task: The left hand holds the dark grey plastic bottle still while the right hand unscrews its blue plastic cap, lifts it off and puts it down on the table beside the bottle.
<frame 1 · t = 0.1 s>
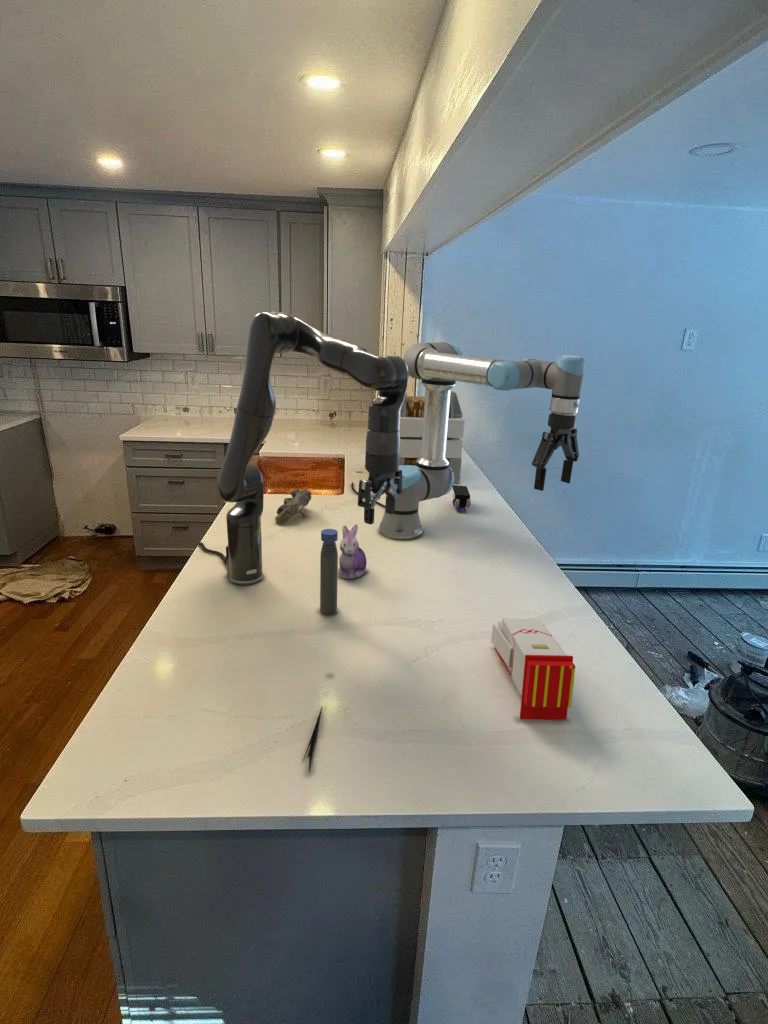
left hand: (379, 518, 130), 29 cm above the counter, tool pointing down, fingers open, 8 cm apart
right hand: (552, 485, 166), 28 cm above the counter, tool pointing down, fingers open, 13 cm apart
bottle: (328, 610, 148), on the counter
fossil: (294, 516, 212), on the counter
feather: (319, 719, 109), on the counter
toy: (524, 678, 124), on the counter
figurine: (352, 573, 169), on the counter
figurine character: (460, 507, 229), on the counter
white wooden crate: (419, 473, 275), on the counter
cap: (329, 532, 140), point 22 cm above the counter, screwed on, not yet turned
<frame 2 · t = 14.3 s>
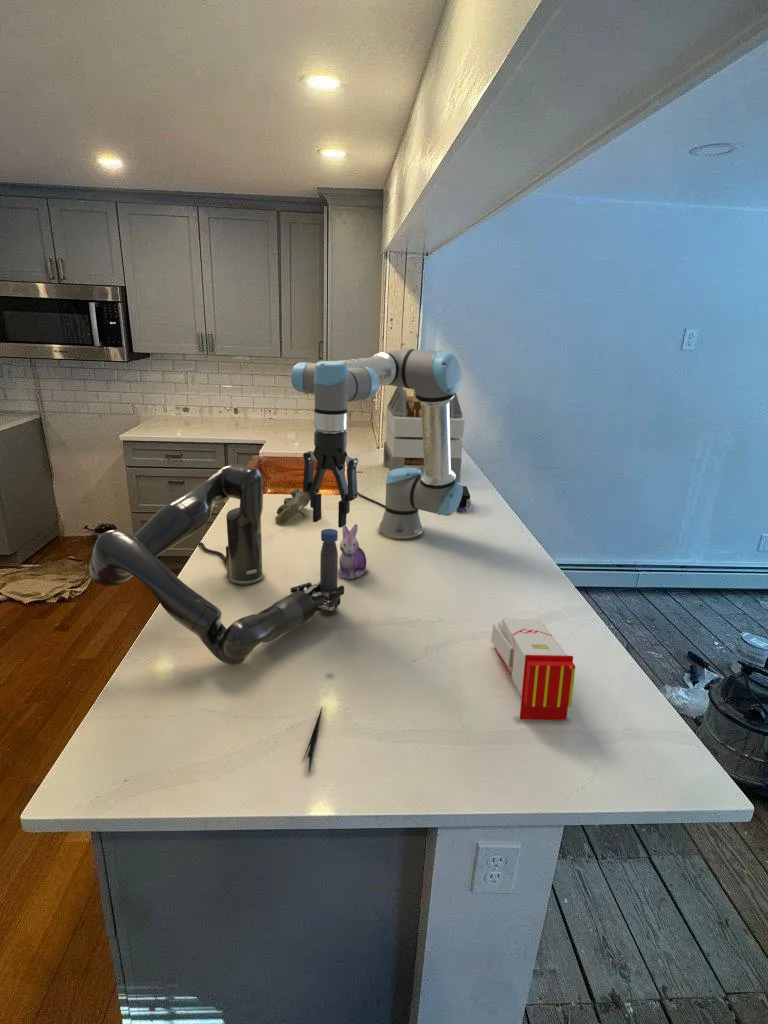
left hand: (335, 586, 148), 6 cm above the counter, tool horizontal, fingers closed on bottle, 4 cm apart
right hand: (329, 522, 139), 25 cm above the counter, tool pointing down, fingers open, 6 cm apart
bottle: (328, 610, 148), on the counter, touching left hand
everything else where it was.
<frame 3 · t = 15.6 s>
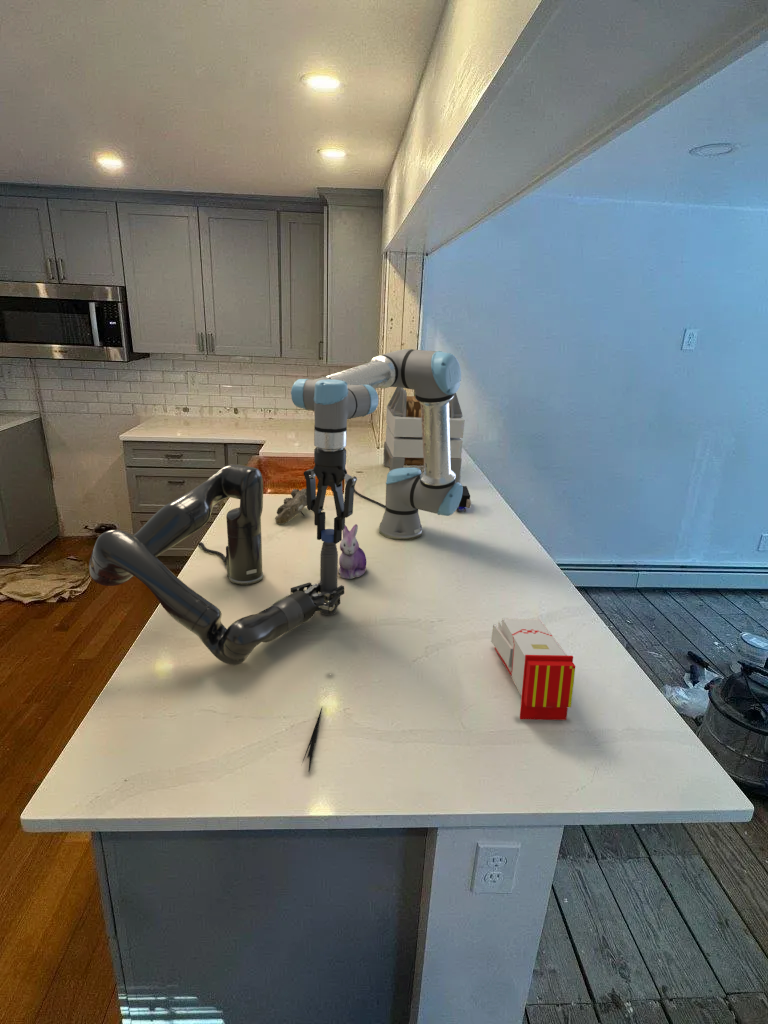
left hand: (335, 586, 148), 6 cm above the counter, tool horizontal, fingers closed on bottle, 4 cm apart
right hand: (329, 539, 141), 20 cm above the counter, tool pointing down, fingers closed on cap, 4 cm apart
bottle: (328, 610, 148), on the counter, touching left hand
cap: (329, 532, 140), point 22 cm above the counter, screwed on, not yet turned, touching right hand
everything else where it was.
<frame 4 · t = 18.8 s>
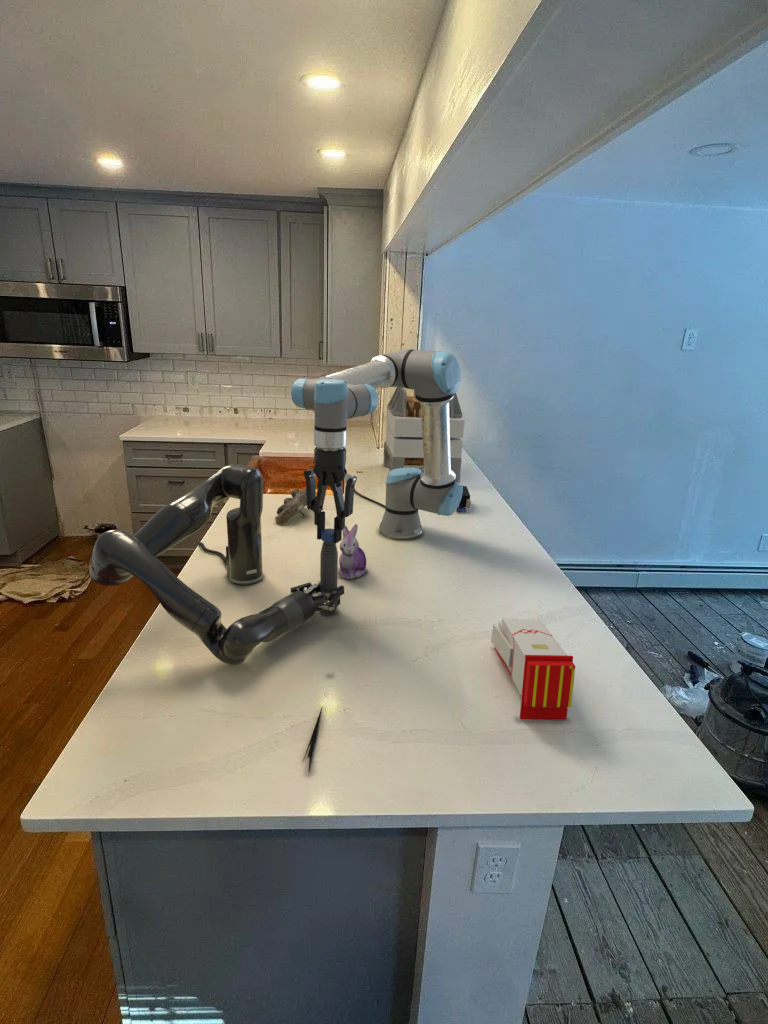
left hand: (335, 586, 148), 6 cm above the counter, tool horizontal, fingers closed on bottle, 4 cm apart
right hand: (329, 539, 141), 20 cm above the counter, tool pointing down, fingers closed on cap, 4 cm apart
bottle: (328, 610, 147), on the counter, touching left hand
cap: (329, 532, 140), point 22 cm above the counter, turned 109° so far, risen 0.1 cm, still on its thread, touching right hand
everything else where it was.
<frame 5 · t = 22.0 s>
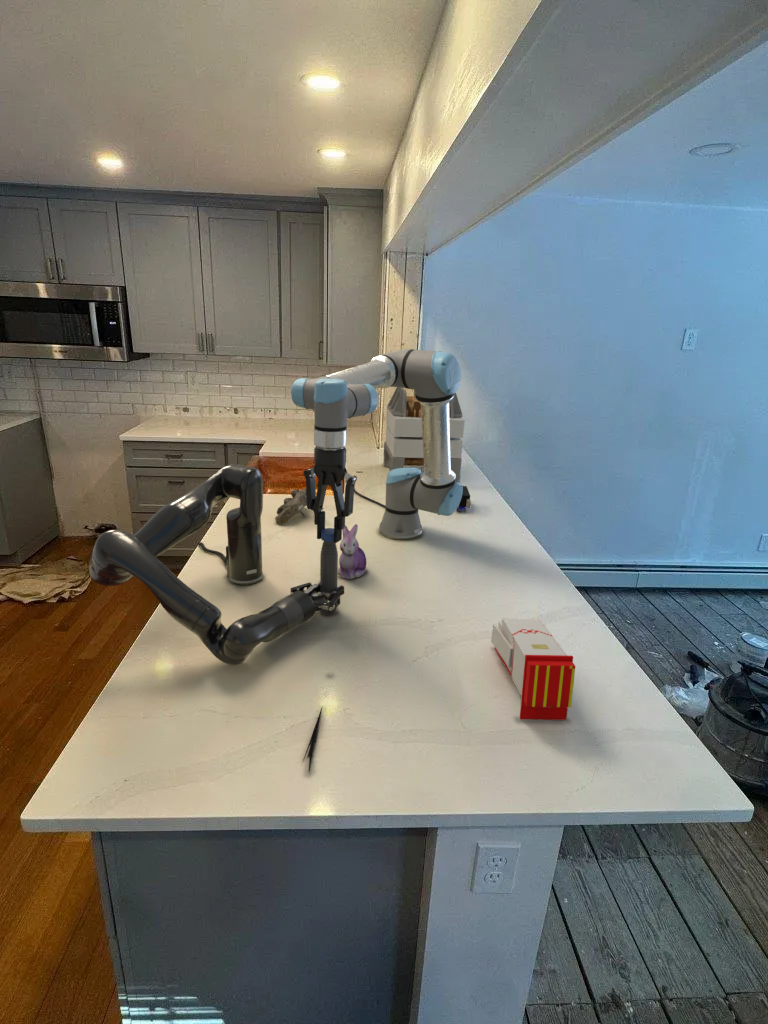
left hand: (335, 586, 148), 6 cm above the counter, tool horizontal, fingers closed on bottle, 4 cm apart
right hand: (329, 538, 141), 20 cm above the counter, tool pointing down, fingers closed on cap, 4 cm apart
bottle: (328, 610, 147), on the counter, touching left hand
cap: (329, 532, 140), point 22 cm above the counter, turned 219° so far, risen 0.2 cm, still on its thread, touching right hand
everything else where it was.
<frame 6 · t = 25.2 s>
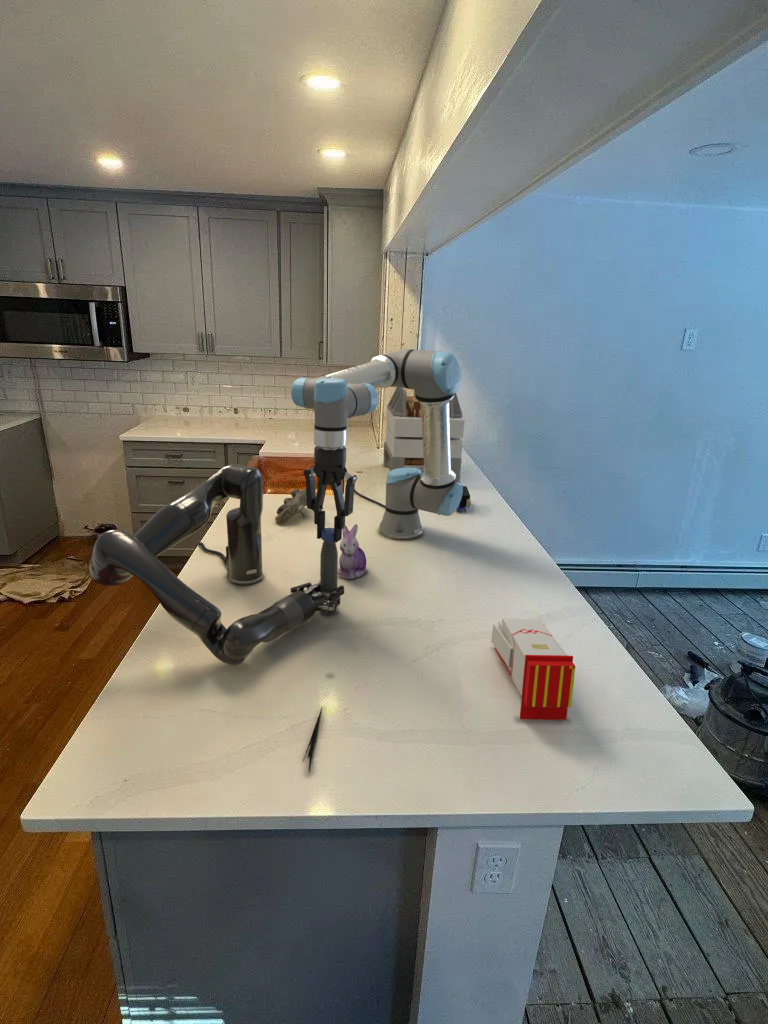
left hand: (335, 586, 148), 6 cm above the counter, tool horizontal, fingers closed on bottle, 4 cm apart
right hand: (329, 538, 141), 20 cm above the counter, tool pointing down, fingers closed on cap, 4 cm apart
bottle: (328, 610, 147), on the counter, touching left hand
cap: (329, 531, 140), point 22 cm above the counter, turned 328° so far, risen 0.3 cm, still on its thread, touching right hand
everything else where it was.
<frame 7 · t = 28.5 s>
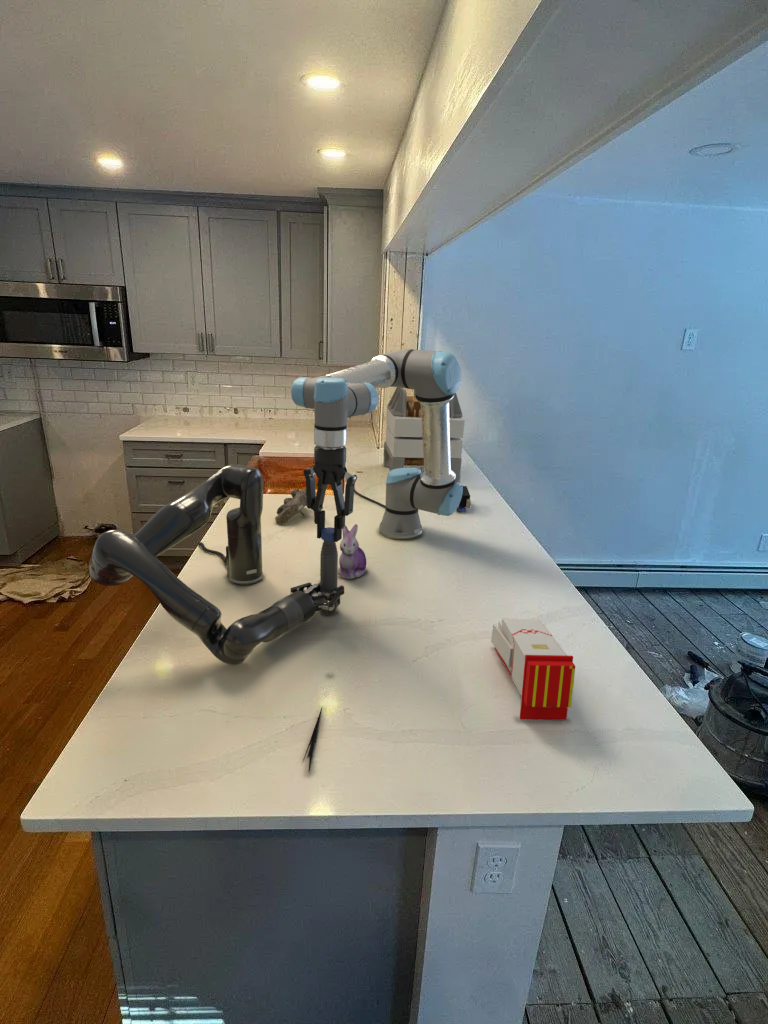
left hand: (335, 586, 148), 6 cm above the counter, tool horizontal, fingers closed on bottle, 4 cm apart
right hand: (329, 538, 141), 21 cm above the counter, tool pointing down, fingers closed on cap, 4 cm apart
bottle: (328, 610, 147), on the counter, touching left hand
cap: (329, 531, 140), point 22 cm above the counter, turned 438° so far, risen 0.4 cm, still on its thread, touching right hand
everything else where it was.
when the right hand's fingers open (1 cm above the counter, at t = 35.4 s): cap drops 1 cm, point 2 cm above the counter.
when the left hand's fingers open (6 cm above the counter, at t = 36.6 s): bottle stays where it is, on the counter.
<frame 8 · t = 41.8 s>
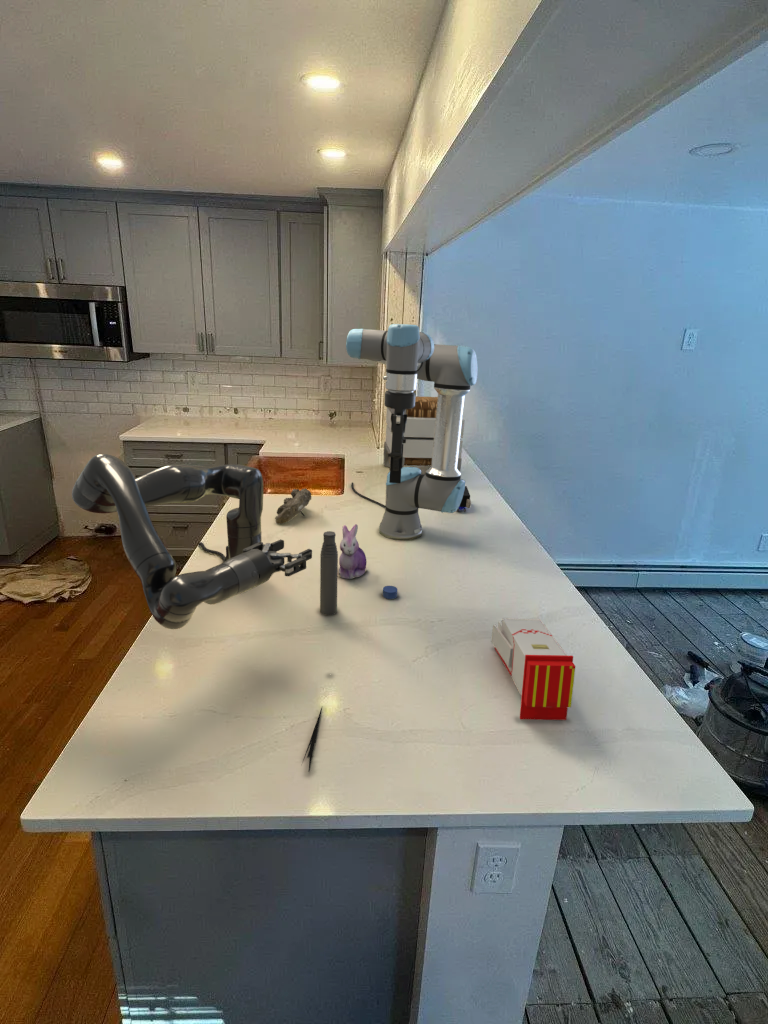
left hand: (296, 548, 131), 22 cm above the counter, tool horizontal, fingers open, 8 cm apart
right hand: (396, 475, 145), 35 cm above the counter, tool pointing down, fingers open, 13 cm apart
bottle: (328, 610, 147), on the counter
cap: (390, 590, 156), point 2 cm above the counter, off its thread
everything else where it was.
at the end: cap came off its thread; cap point 1.7 cm above the counter; the left hand is holding nothing; the right hand is holding nothing; bottle tilted 0°; bottle moved 0.0 cm from its start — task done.
